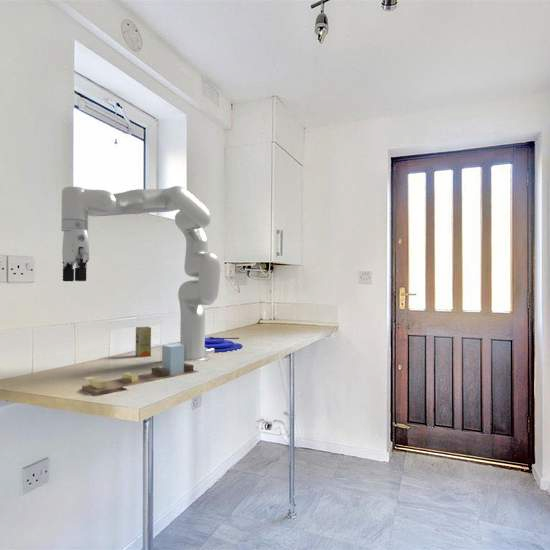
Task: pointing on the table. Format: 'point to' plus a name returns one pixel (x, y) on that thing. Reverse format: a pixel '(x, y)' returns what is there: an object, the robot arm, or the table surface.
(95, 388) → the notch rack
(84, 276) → the robot arm
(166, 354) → the painted block
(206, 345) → the coiled blue cable
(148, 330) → the shoe polish box
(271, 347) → the table surface
